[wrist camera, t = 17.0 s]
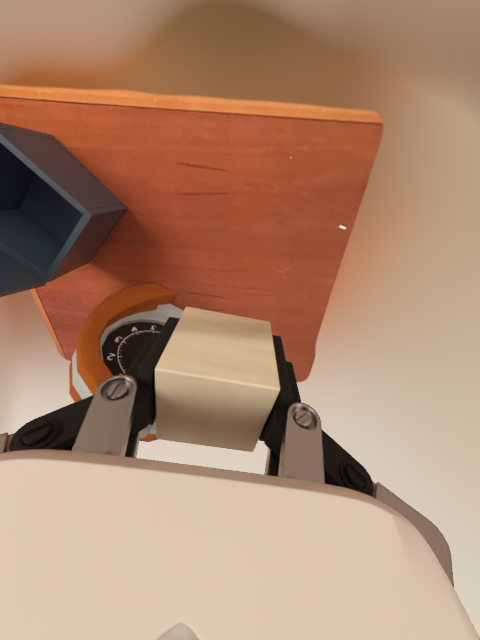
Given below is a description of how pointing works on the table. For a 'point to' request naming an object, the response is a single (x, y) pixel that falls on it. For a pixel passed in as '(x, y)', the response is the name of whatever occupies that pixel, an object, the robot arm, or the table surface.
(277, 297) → the table surface
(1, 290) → the lid
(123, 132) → the table surface
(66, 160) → the chest
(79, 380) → the alarm clock
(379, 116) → the table surface
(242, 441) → the block
